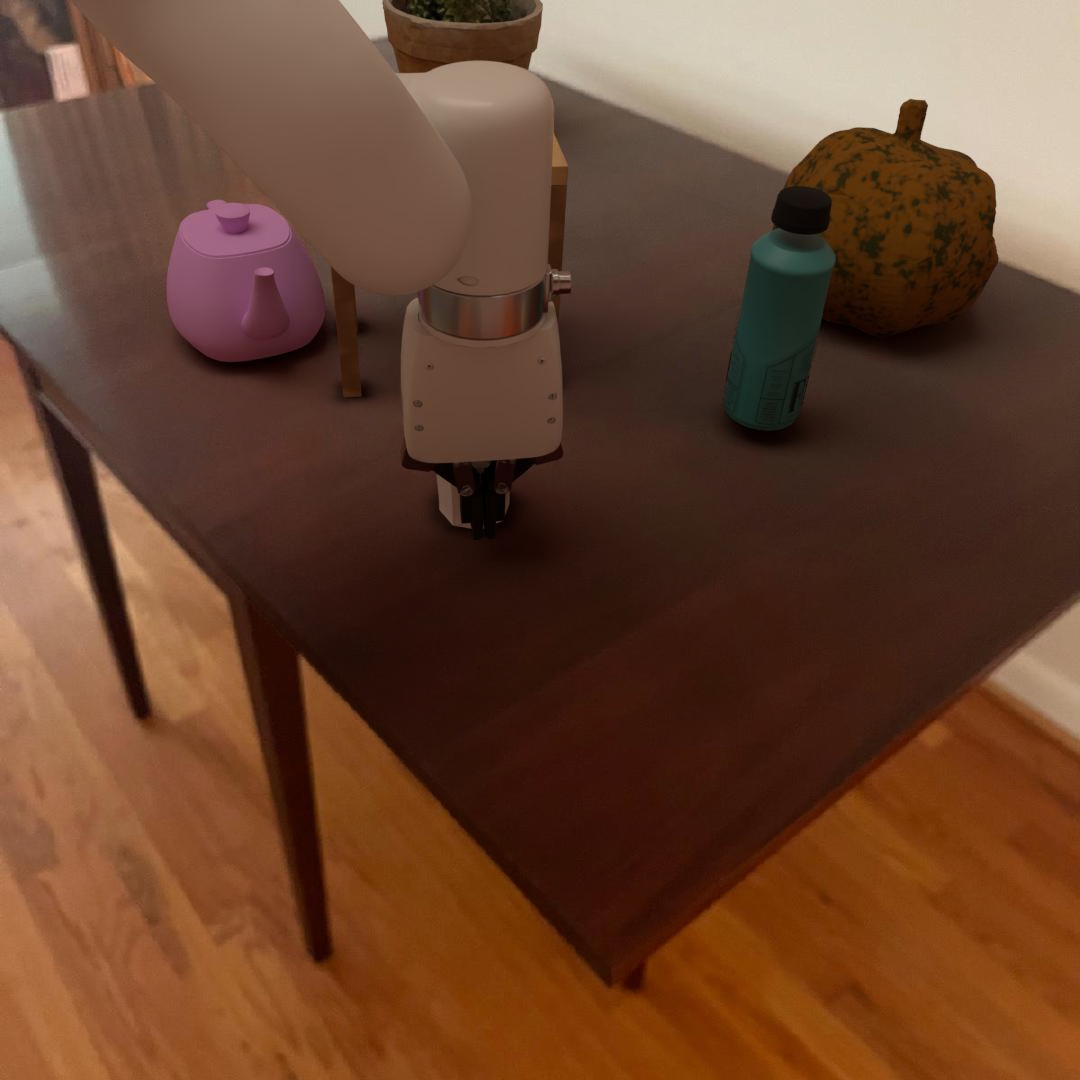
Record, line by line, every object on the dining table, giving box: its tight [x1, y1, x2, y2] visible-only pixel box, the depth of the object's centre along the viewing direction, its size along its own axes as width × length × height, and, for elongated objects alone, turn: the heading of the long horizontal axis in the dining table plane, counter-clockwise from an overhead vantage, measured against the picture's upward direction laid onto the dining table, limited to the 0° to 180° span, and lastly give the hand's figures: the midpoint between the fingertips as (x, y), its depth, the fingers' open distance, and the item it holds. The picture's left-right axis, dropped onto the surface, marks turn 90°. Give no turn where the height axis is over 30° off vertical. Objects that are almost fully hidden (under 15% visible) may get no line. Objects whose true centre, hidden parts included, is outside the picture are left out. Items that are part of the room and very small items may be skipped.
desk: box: [330, 133, 569, 398], centre depth 87 cm, size 18×12×20 cm, turn 99°
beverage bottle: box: [722, 186, 836, 432], centre depth 81 cm, size 6×7×20 cm
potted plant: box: [381, 0, 544, 73], centre depth 123 cm, size 18×19×25 cm
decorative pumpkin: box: [771, 98, 999, 339], centre depth 97 cm, size 20×21×20 cm
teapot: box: [166, 199, 326, 363], centre depth 90 cm, size 20×13×12 cm, turn 27°
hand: (482, 526), depth 74 cm, fingers closed
